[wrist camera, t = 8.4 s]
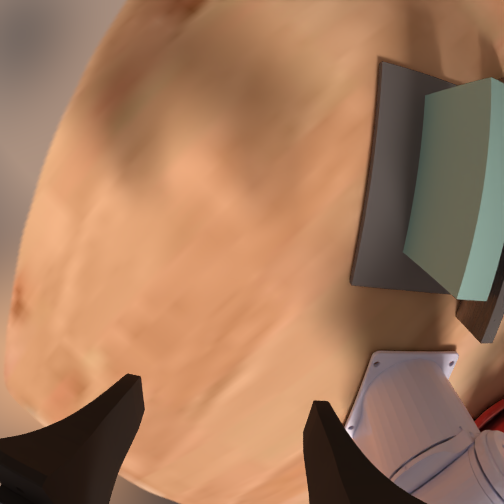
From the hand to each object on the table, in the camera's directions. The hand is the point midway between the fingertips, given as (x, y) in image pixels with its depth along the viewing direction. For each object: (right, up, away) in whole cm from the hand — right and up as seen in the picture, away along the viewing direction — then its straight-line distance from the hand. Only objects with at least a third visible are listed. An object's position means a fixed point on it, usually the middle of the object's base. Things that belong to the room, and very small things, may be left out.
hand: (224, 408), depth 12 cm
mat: (+12, +11, +6) cm, 17 cm away
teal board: (+12, +11, +5) cm, 17 cm away
